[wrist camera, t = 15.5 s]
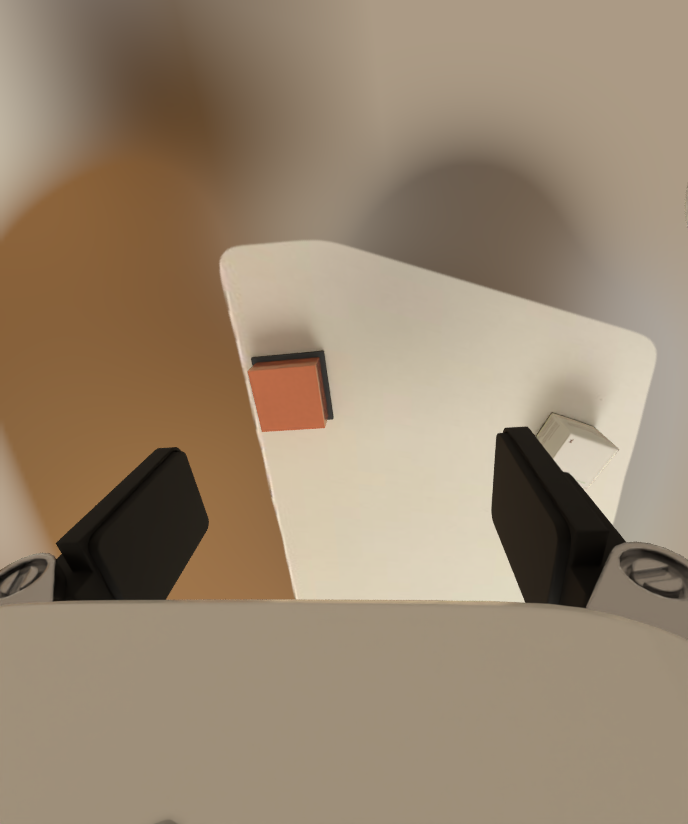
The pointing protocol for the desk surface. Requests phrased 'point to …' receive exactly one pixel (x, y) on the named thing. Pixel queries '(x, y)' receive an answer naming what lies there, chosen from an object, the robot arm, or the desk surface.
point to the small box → (576, 448)
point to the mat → (302, 356)
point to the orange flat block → (289, 394)
